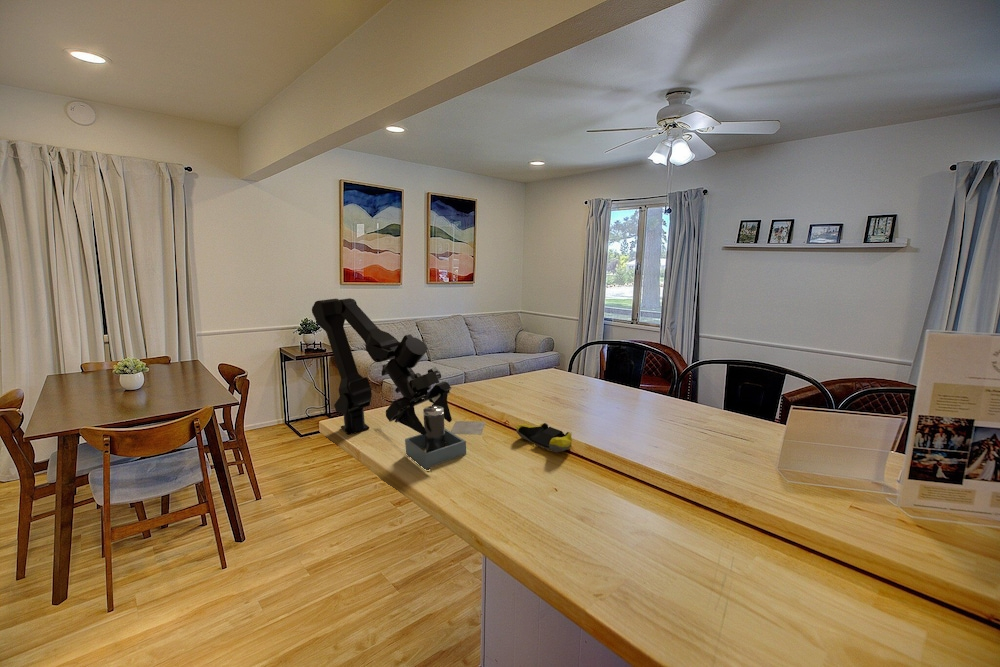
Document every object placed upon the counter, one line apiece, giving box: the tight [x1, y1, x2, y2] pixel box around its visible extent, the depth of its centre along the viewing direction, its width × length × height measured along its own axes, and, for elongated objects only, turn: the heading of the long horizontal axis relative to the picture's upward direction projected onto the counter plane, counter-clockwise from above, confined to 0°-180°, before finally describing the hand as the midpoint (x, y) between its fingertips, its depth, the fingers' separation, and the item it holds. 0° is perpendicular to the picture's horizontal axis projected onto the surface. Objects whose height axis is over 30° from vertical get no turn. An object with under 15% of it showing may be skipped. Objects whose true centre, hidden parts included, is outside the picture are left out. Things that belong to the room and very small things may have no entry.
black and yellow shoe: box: [515, 422, 573, 454], centre depth 115 cm, size 15×6×10 cm
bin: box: [404, 428, 467, 470], centre depth 111 cm, size 11×11×4 cm
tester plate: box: [450, 420, 487, 435], centre depth 127 cm, size 9×9×1 cm
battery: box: [422, 405, 446, 453], centre depth 110 cm, size 5×5×13 cm
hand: (438, 427), depth 109 cm, fingers open, 9 cm apart
